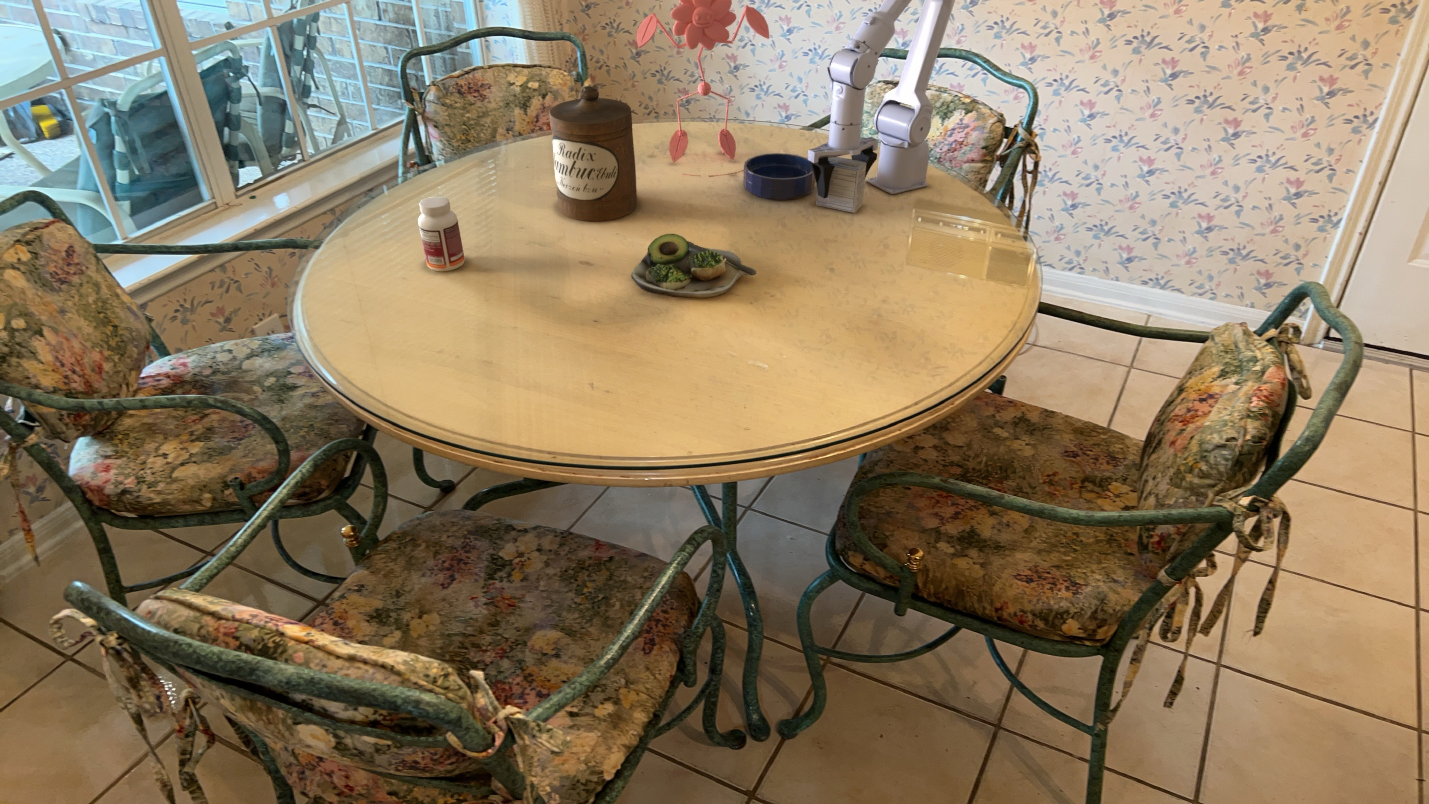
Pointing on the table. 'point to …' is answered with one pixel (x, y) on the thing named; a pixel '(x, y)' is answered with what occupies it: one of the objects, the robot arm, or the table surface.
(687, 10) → the figurine
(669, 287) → the salad plate
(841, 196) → the medicine box
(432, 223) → the pill bottle
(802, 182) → the bowl
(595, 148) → the wooden container
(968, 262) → the table surface
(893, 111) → the robot arm
